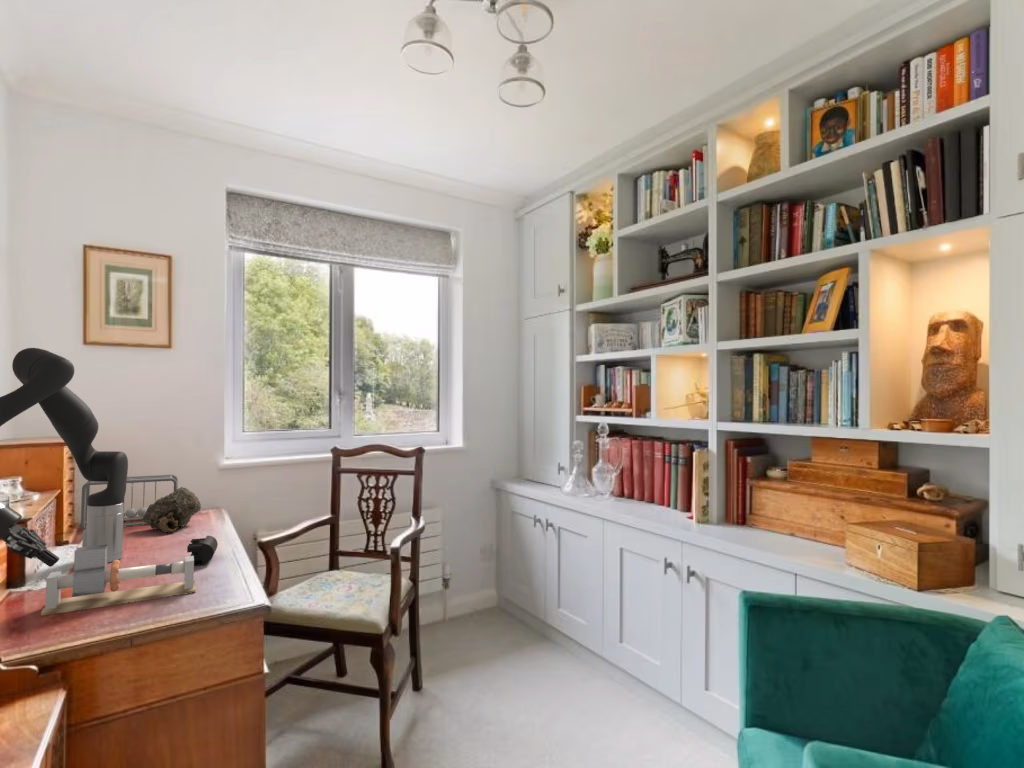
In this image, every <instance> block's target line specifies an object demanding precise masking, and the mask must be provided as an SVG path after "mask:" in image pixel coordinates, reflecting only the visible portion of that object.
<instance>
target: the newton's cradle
mask: <svg viewBox="0 0 1024 768" xmlns="http://www.w3.org/2000/svg"><path fill="white" fill-rule="evenodd" d="M157 482H173V492H174V491H175V490H176V489H178V487H179V484H178V482H179V479H178V477H177V475H175V474H156V475H135V476H127V482H126V484H134V483H138V484H139V483H143V491H142V492H143V501H142V502H143V505H142V507H140V508H139V509H138V510H137V508H135V507H133V495H134V494H133V493H134V487H131V499H130V500H131V507H130V508H128V509H127V510H126V511H125V510H124V517H125V516H126V517H127V518H124V521H130V522H133V523H124V526H130V527H134V526H133V525H141V526H144V525H143V524H146V523H144V521H143V520H142V518H143V517H144V515H145V513H146V511H147V509H148V507H147V506H146V507H145V489H146V483H155V484H154V486H155V487H154V503H155V502H156V501H157V499H156V498H157ZM96 485H98V486H99V485H106V486H107V485H108V482H93V481H88V480H87V481H86V483H84V484H83V485H82V487H81V504H80V505H81V509H80V526H81V528H82V530H83V531H84V530H86V526H87V525H86V524H87V498H88V496H89V495H91V493H90V492H91V490H90V489H91V488H90V486H96ZM137 515H138V516H139V517H137ZM133 520H142V522H134V521H133ZM85 523H86V524H85Z"/></svg>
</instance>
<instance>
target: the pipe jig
mask: <svg viewBox="0 0 1024 768" xmlns="http://www.w3.org/2000/svg"><path fill="white" fill-rule="evenodd" d="M194 570H195V566H194V556H190V555H189V556H188V555H187V556H185V557H184V560H181V561H173V562H171V563H165V564H148V565H141V566H130V567H124V568H123V567H122V568H120V569H119V571H118V581H120V582H123V581H130V580H139V579H146V578H148V579H149V578H154V577H156V576H162V575H169V574H171V575H177V574H183V573H184V577H183V578H184V580H183V582H184V589H191V588H193V581H194V577H195V576H194V572H195V571H194ZM110 573H111V569H107V570H106V571H105V578H104V583H109V584H110ZM45 580H46V584H45V605H44V607H45V610H46V609H52V608H57V606H58V604H59V602H60V599H62V598H61V592H62V590H63V589H71V588H73V574H66V575H62V571H61V570H60V571H52V572H50V573H49V575H47V577H46V579H45Z"/></svg>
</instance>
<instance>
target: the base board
mask: <svg viewBox="0 0 1024 768" xmlns="http://www.w3.org/2000/svg"><path fill="white" fill-rule="evenodd" d="M192 592H195V593H196V580H194V579H193V588H191V589H184V581H181V582H174V583H167V584H166V583H165V584H160V585H159V584H158V585H153V586H152V585H151V586H146V587H145V586H144V587H137V588H131V589H122V590H117V591H114V592H113V591H108V592H104V593H98V594H91V595H84V596H77V597H64V598H60V602H59V604H58V606H57V608H52V609H46V610H45V606H44V607H43V608H42V610H41V612H40V616H47V615H54V614H55V613H56V614H61V613H68V612H69V613H70V612H74V611H75V610H76V611H83V610H88V609H95V608H101V607H108V606H116V605H122V604H121V603H123V604H128V602H130V603H135V601H136V602H142V601H141V600H143V601H148V599H150V600H155V599H154V598H157V599H161V598H160V597H163V598H166V597H165V596H170V597H172V596H171V595H177V594H183V595H186V594H185V593H190V594H193V593H192ZM177 596H178V595H177ZM115 604H116V605H115ZM82 609H83V610H82Z"/></svg>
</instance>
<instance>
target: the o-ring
mask: <svg viewBox="0 0 1024 768" xmlns="http://www.w3.org/2000/svg"><path fill="white" fill-rule="evenodd" d="M119 569H122V568H121V561H120V559H119V560H114V561H112V562H111V566H110V570H111V573H110V583H109V588H110V592H114V591H119V588H120V587H119V586H120V582H121V581H118V571H119Z"/></svg>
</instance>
